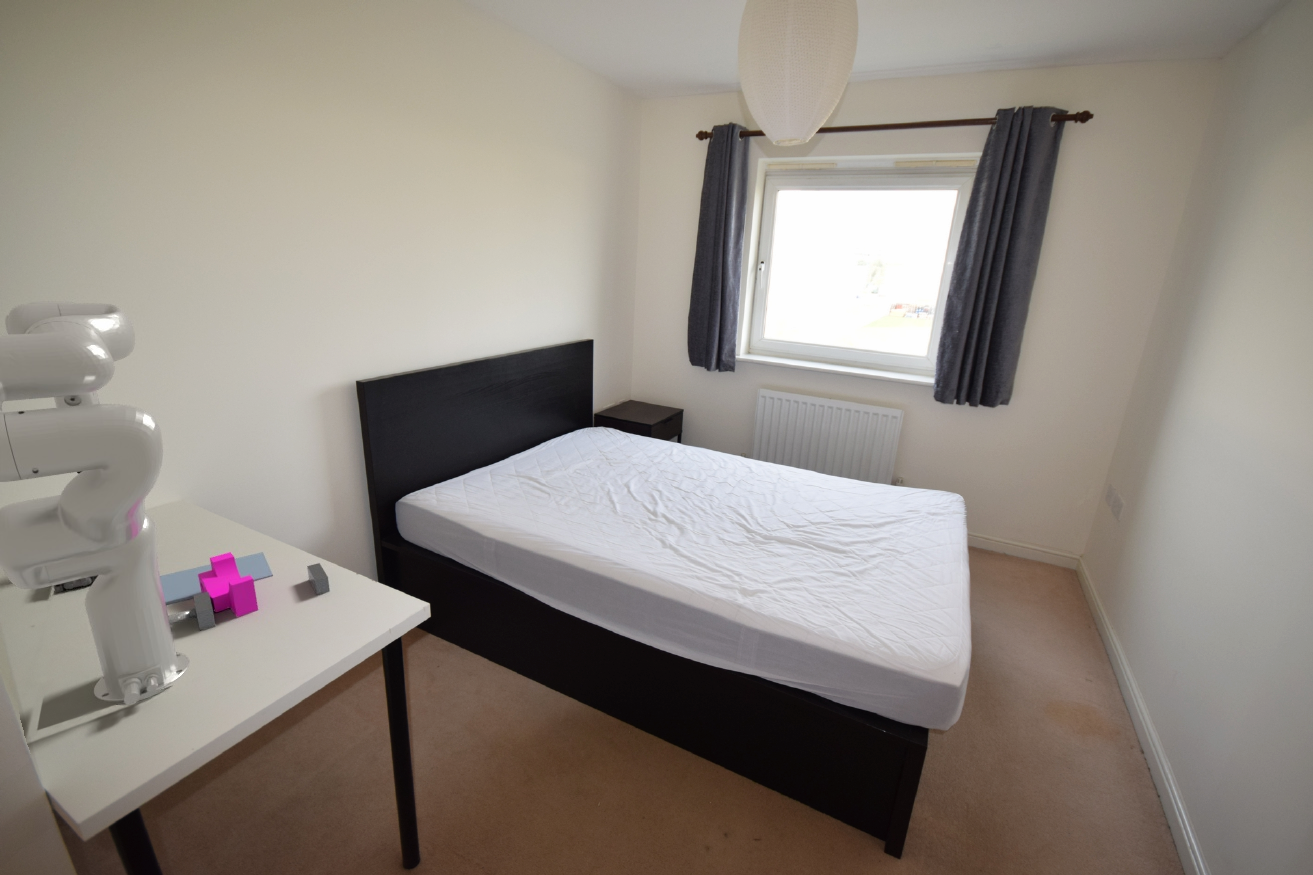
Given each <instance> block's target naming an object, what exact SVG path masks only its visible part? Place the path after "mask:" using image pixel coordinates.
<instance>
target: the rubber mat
mask: <svg viewBox="0 0 1313 875" xmlns="http://www.w3.org/2000/svg"><path fill="white" fill-rule="evenodd" d="M235 562H236V566H237V569H238V572H239V574H240V576H241V578H242V577H245V576H248V575H250V576H251V577H252V578H253V580H254V582H256V581H261V580H264V579H267V578H270V577H273V576H274V574H273V572H272V570H271V567H270V564H269V562H268V561H267V558H266V556H265V554H264V552H263V551H262V552H258V553H253V554H249V555H244V556H239V557H235ZM210 570H212V568H211V563H210V564H207V565H201V566H198V567H193V568H189V569H183V570H181V571H176V572H172V573H168V574H162V575H160V580H161V585H162V590H163V595H164V599H165V604H166V606H167V605H171V604H174V603H178V602H183V601H187V600H190V599H194V596H193V595H197V594H201V593H202V592H201V588H200V583H199V578H198V574H200V573H203V572H207V571H210Z"/></svg>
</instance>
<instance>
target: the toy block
mask: <svg viewBox="0 0 1313 875" xmlns="http://www.w3.org/2000/svg"><path fill="white" fill-rule="evenodd" d="M235 559H236V557H235V556H234V555H233V553H232V552H230V551H229V552H226V553H222V554H219V555H218V554H217V555H215V556H212V557H209V562H210V564H211V568H212V570H210V571H207V572H203V573H200V574H198V578H199V583H200V588H201V592H202V593H204V592H208V591H209V596H210V600H211V604H212V609H213V612H215V613H217V612H221V611H224V610H227V609H230V610H231V611H232V612H233V614H234V615H235V616H236V617H237V618H240V617H243V616H244V615H248V614H251V613H253V612H257V611H259V605H258V600H257V599H258V598H257V593H256V592H257V591H256V586H255V581H254V580H253V578H252V577H251V576H250V575H248V576H245V577H242V578H241V576H240V574H239V572H238V569H237V566H236V562H235Z"/></svg>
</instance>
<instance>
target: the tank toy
mask: <svg viewBox="0 0 1313 875" xmlns="http://www.w3.org/2000/svg"><path fill="white" fill-rule="evenodd" d="M97 577H98V575H96V576H91V577H85V578H81V579H77V580H73V581H69V582H65V583H61V584H57V585H53V586H52V587H53V589H54V593H55V594H58V593H61V592H64V589H65V590H71V589H74V588H78V587H82V586H83V587H85V586H88V585H92V583H93V582H94V581H95V580H96V578H97Z"/></svg>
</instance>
